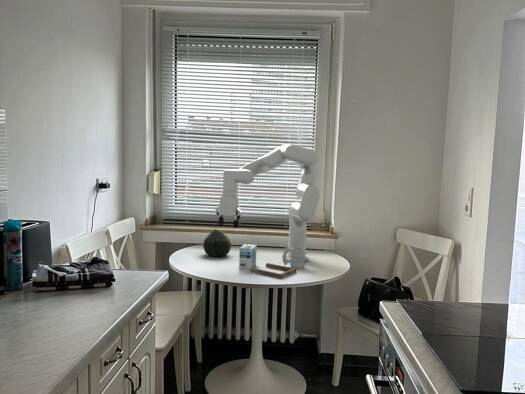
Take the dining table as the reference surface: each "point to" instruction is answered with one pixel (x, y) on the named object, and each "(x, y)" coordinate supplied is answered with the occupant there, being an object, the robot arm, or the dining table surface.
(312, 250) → the dining table surface
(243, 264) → the light bulb box
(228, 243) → the squash
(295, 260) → the mug
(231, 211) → the robot arm
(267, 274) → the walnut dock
